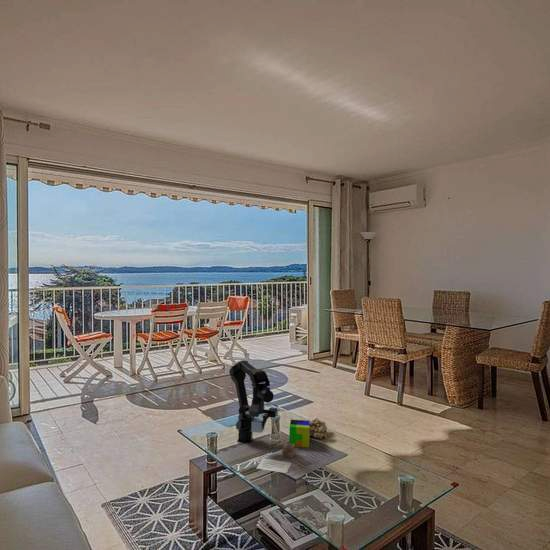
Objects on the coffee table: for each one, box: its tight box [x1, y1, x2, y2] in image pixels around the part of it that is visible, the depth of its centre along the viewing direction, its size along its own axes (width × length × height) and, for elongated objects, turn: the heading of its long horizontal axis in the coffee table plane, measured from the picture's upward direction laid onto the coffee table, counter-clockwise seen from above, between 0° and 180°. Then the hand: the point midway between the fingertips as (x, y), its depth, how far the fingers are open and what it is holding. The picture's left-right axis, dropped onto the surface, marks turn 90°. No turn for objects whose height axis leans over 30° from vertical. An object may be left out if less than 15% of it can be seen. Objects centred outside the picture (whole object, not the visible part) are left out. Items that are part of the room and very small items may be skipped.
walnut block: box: [281, 442, 296, 459], centre depth 196 cm, size 5×5×5 cm
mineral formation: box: [309, 417, 328, 440], centre depth 221 cm, size 8×13×15 cm
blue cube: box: [251, 417, 265, 434], centre depth 200 cm, size 5×5×5 cm
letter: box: [256, 458, 292, 474], centre depth 185 cm, size 14×10×1 cm
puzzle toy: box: [288, 419, 311, 448], centre depth 211 cm, size 10×10×10 cm
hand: (257, 428), depth 200 cm, fingers closed on blue cube, 5 cm apart
